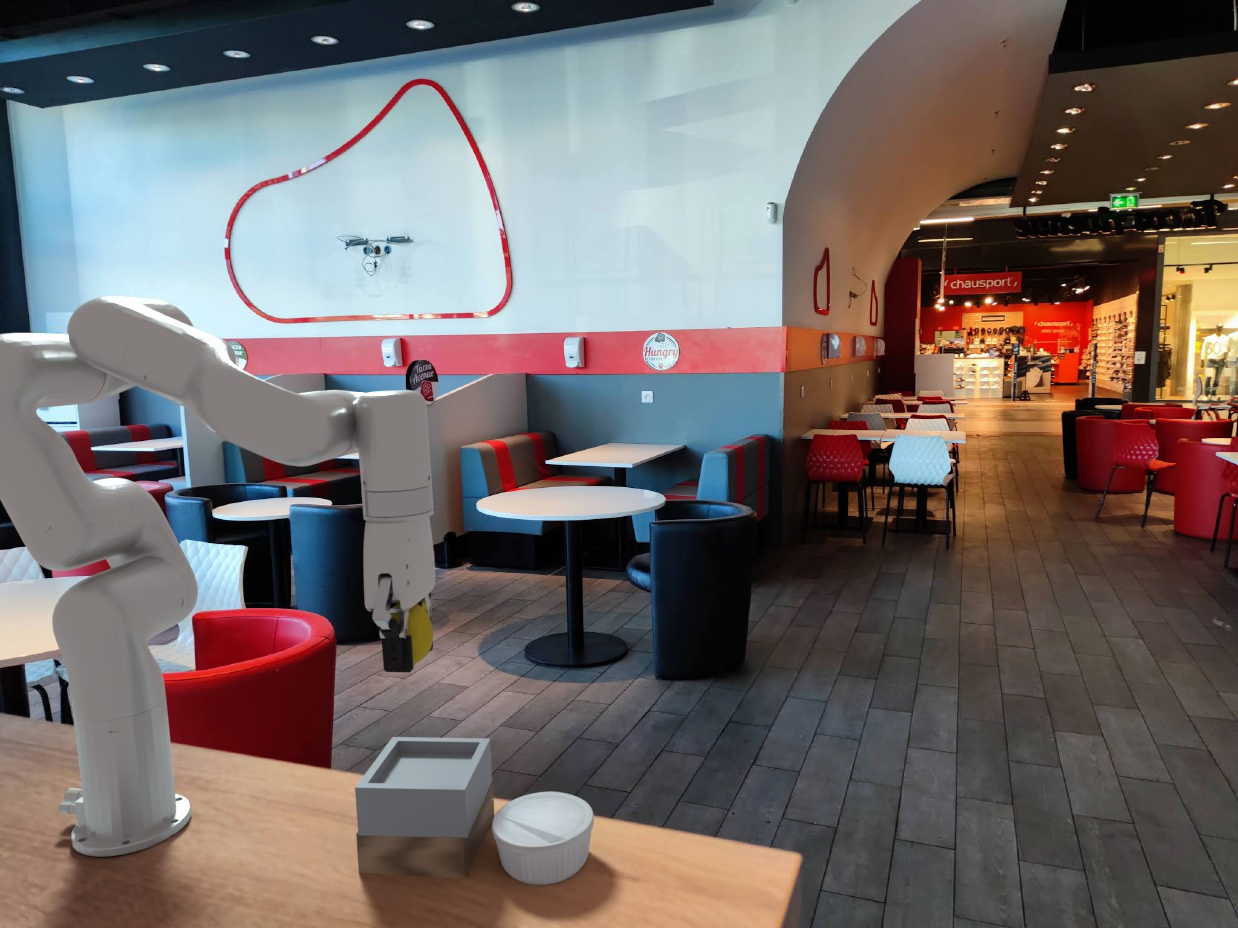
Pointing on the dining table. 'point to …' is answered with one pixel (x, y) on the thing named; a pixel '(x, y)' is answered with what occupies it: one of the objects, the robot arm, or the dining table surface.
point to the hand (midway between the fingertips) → (409, 659)
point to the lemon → (418, 631)
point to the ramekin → (543, 836)
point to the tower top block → (424, 787)
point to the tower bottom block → (426, 850)
